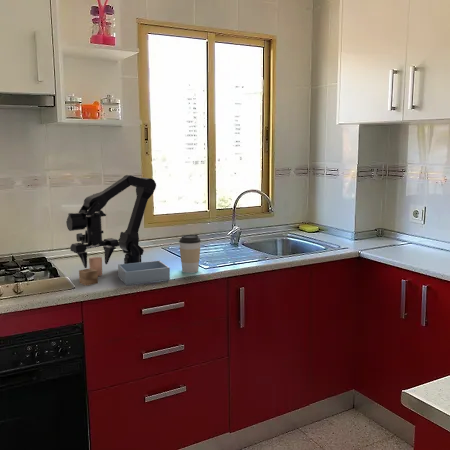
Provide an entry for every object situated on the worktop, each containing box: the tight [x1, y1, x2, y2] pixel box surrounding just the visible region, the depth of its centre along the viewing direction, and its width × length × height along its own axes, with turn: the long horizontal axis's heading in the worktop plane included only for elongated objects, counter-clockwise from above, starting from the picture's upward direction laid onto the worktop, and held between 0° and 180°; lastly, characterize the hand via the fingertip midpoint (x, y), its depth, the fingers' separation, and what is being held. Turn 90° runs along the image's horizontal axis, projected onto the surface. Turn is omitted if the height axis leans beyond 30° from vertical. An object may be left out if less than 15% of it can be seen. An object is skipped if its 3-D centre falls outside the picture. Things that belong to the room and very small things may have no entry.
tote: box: [117, 260, 171, 286], centre depth 199 cm, size 17×13×5 cm
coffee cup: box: [178, 234, 202, 274], centre depth 210 cm, size 9×9×15 cm
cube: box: [78, 268, 99, 286], centre depth 193 cm, size 5×5×5 cm
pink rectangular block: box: [88, 256, 103, 277], centre depth 204 cm, size 5×5×7 cm
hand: (96, 266), depth 204 cm, fingers open, 9 cm apart
